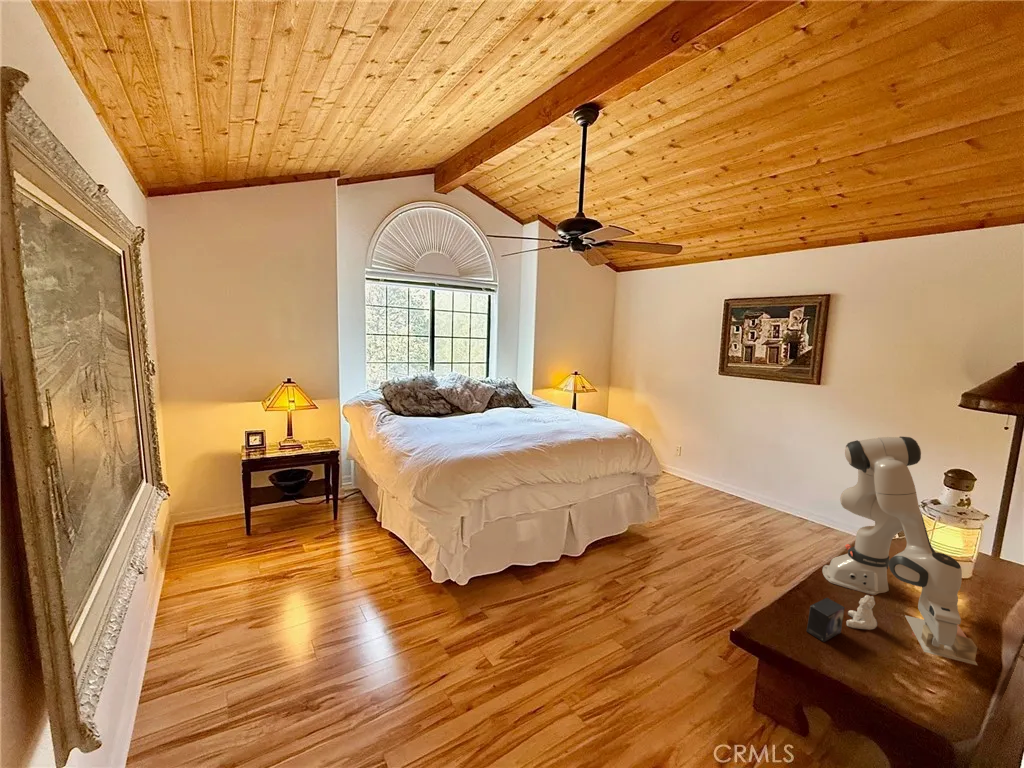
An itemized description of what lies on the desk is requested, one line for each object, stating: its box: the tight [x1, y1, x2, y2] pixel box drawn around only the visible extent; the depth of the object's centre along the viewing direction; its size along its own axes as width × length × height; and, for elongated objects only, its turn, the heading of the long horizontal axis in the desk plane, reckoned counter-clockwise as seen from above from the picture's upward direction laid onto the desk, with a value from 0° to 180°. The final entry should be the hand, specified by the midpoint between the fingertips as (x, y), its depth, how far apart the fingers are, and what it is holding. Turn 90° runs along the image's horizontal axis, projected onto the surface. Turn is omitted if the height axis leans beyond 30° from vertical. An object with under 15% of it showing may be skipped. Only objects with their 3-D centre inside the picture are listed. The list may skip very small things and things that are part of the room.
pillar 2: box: [951, 635, 978, 661], centre depth 152 cm, size 4×4×5 cm
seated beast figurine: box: [845, 594, 878, 631], centre depth 166 cm, size 10×9×12 cm
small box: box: [806, 597, 845, 643], centre depth 162 cm, size 11×6×10 cm, turn 117°
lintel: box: [956, 624, 968, 638], centre depth 161 cm, size 4×12×4 cm, turn 154°
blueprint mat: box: [904, 614, 979, 666], centre depth 160 cm, size 14×20×1 cm, turn 154°
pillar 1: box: [921, 625, 944, 651], centre depth 155 cm, size 4×4×5 cm
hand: (931, 639), depth 155 cm, fingers closed on pillar 1, 4 cm apart
